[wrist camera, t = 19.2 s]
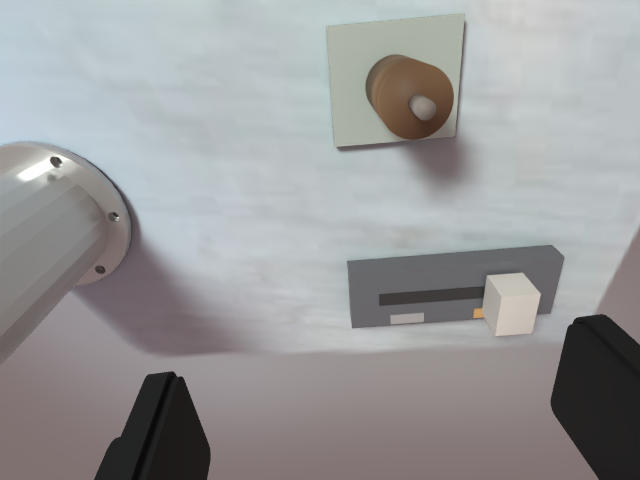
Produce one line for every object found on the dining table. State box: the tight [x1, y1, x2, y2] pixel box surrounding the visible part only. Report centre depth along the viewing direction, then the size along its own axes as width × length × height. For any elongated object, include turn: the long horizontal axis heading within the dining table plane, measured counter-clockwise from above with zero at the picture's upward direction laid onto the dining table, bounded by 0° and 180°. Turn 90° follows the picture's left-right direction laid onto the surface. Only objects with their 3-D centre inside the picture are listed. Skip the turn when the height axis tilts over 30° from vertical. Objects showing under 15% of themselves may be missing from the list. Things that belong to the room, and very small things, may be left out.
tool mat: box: [326, 14, 465, 147], centre depth 28 cm, size 9×8×1 cm
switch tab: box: [482, 273, 541, 336], centre depth 33 cm, size 3×4×3 cm
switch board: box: [347, 245, 564, 328], centre depth 36 cm, size 18×6×2 cm, turn 95°
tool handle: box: [365, 54, 454, 140], centre depth 24 cm, size 4×4×9 cm
